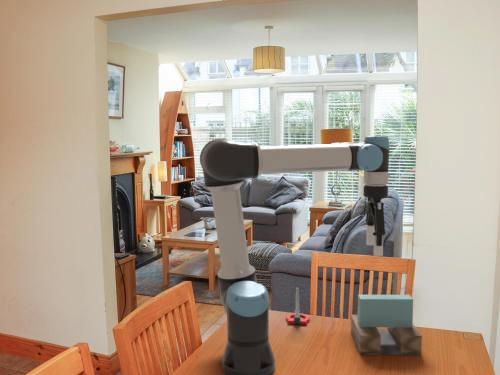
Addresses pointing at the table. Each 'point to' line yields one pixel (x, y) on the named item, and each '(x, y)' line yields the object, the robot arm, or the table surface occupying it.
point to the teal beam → (385, 310)
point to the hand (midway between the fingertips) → (374, 250)
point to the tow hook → (297, 314)
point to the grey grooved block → (386, 339)
